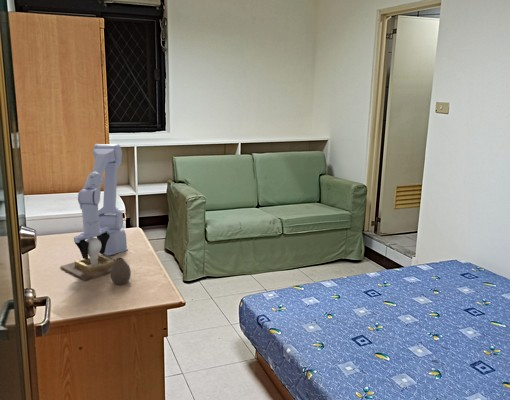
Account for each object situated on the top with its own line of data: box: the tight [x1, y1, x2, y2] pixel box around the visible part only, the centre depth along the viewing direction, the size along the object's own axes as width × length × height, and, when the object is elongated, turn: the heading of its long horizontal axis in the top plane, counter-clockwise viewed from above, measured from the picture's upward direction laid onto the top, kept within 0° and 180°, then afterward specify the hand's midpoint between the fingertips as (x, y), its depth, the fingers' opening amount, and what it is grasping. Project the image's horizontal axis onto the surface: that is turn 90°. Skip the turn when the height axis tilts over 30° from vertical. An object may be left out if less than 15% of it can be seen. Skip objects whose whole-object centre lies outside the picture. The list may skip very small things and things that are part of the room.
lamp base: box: [59, 253, 117, 282], centre depth 186 cm, size 18×18×1 cm
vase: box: [109, 257, 131, 286], centre depth 172 cm, size 7×7×9 cm
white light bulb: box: [85, 237, 102, 265], centre depth 184 cm, size 6×6×11 cm
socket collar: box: [74, 253, 114, 273], centre depth 186 cm, size 10×10×2 cm
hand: (93, 255), depth 185 cm, fingers open, 7 cm apart
